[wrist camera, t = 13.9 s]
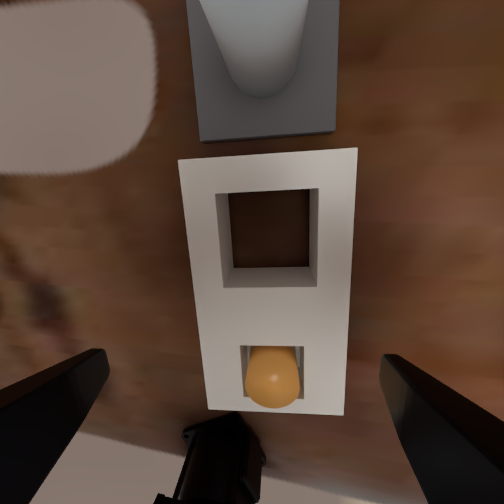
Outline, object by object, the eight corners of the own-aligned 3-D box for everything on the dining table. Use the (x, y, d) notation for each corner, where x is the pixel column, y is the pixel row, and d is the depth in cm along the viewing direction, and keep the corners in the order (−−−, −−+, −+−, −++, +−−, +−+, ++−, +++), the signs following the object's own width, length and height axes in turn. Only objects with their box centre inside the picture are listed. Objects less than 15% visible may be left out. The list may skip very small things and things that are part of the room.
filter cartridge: (247, 111, 16) (213, 25, 7) (214, 41, 15) (134, -146, 7) (310, 73, 15) (354, -74, 7) (279, -3, 14) (283, -286, 6)
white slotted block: (219, 371, 23) (208, 409, 19) (198, 165, 18) (177, 160, 14) (331, 374, 22) (343, 415, 18) (339, 156, 17) (357, 147, 13)
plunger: (252, 366, 21) (246, 407, 17) (249, 328, 20) (243, 362, 16) (295, 367, 20) (299, 409, 16) (295, 328, 19) (299, 364, 16)
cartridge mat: (203, 142, 18) (200, 140, 17) (188, -14, 15) (183, -24, 15) (332, 132, 17) (335, 130, 16) (337, -35, 14) (340, -48, 14)
